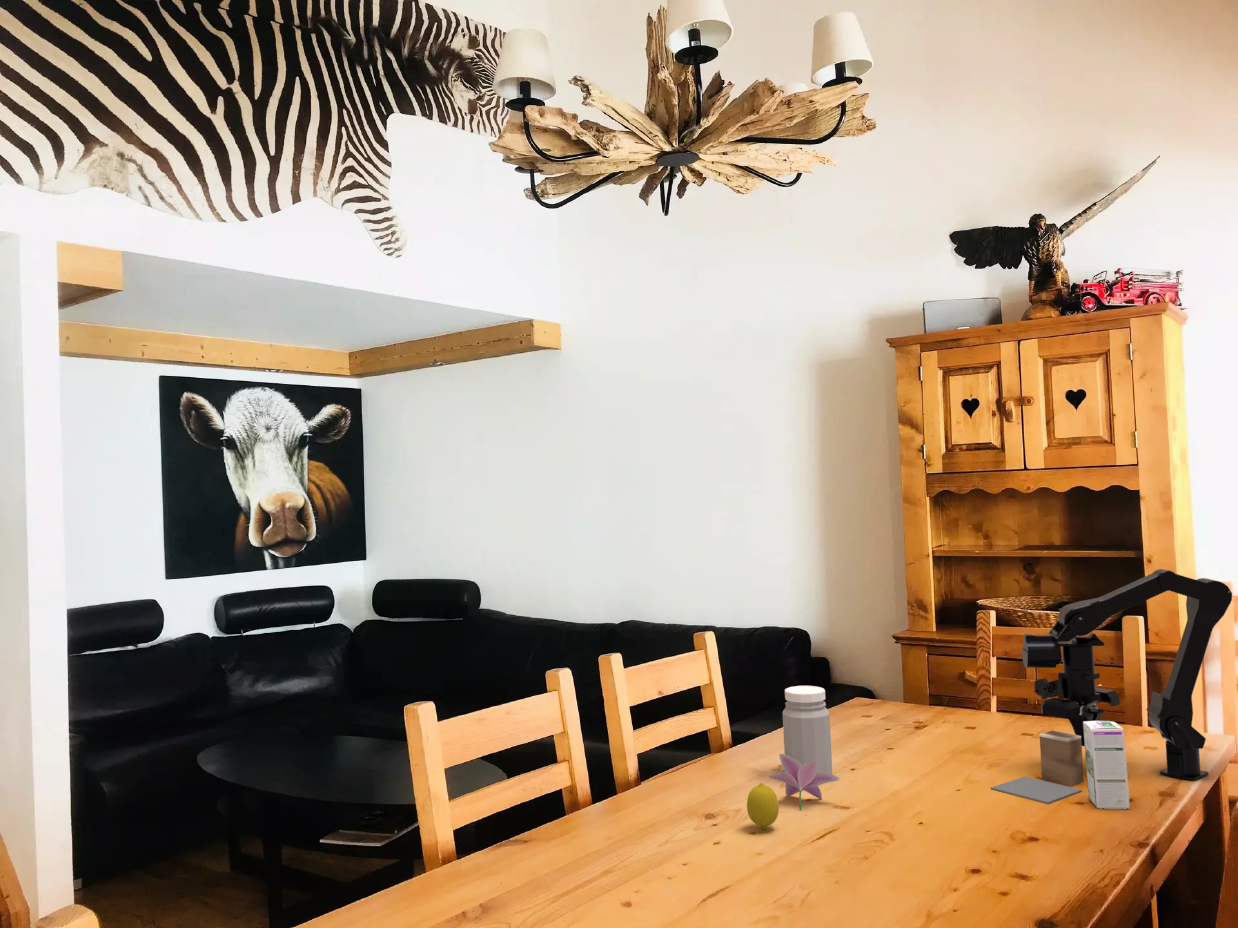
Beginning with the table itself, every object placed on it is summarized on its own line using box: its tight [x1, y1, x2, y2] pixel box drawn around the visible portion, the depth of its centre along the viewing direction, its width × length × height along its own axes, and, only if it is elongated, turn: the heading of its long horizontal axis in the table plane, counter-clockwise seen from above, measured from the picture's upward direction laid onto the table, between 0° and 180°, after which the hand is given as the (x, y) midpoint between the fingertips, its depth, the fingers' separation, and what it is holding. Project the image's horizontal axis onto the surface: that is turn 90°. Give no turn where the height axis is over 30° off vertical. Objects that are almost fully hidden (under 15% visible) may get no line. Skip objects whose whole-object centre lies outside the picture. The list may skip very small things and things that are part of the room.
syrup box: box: [1083, 720, 1131, 810], centre depth 175 cm, size 6×6×14 cm
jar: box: [782, 685, 833, 775], centre depth 200 cm, size 10×10×18 cm
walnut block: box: [1039, 730, 1085, 788], centre depth 190 cm, size 4×6×9 cm
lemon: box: [746, 782, 780, 830], centre depth 170 cm, size 6×6×8 cm
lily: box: [768, 753, 840, 811], centre depth 182 cm, size 12×12×10 cm
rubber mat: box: [990, 776, 1083, 805], centre depth 185 cm, size 11×12×1 cm
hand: (1083, 745), depth 194 cm, fingers closed
